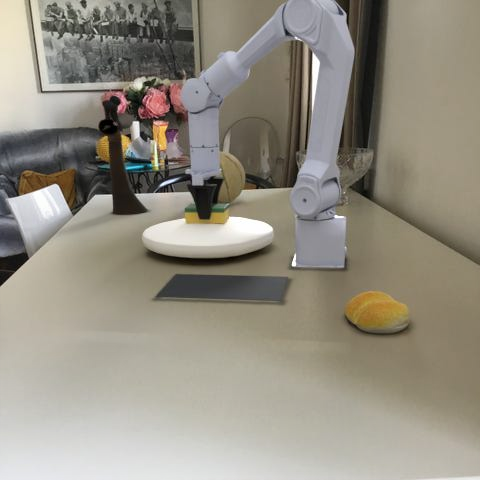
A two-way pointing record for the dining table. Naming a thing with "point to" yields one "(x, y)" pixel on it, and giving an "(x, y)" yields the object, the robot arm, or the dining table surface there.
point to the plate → (208, 238)
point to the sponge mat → (225, 287)
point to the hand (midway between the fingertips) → (207, 216)
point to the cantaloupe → (230, 178)
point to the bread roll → (377, 313)
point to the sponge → (217, 216)
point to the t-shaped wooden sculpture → (118, 158)
